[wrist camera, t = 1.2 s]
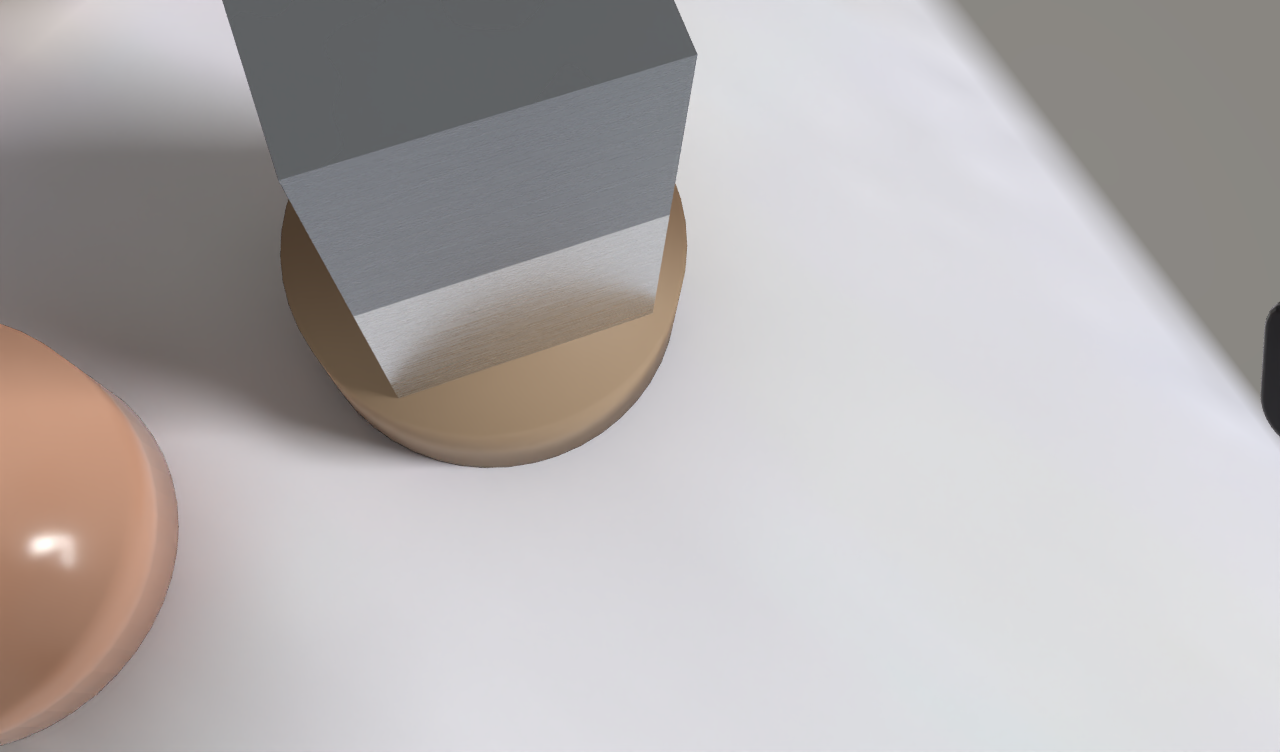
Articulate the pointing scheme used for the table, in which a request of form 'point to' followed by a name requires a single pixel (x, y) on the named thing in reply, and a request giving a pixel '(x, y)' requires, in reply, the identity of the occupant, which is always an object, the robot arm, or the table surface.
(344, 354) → the stand
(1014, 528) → the table surface
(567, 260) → the plate
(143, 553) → the stand
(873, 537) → the table surface
